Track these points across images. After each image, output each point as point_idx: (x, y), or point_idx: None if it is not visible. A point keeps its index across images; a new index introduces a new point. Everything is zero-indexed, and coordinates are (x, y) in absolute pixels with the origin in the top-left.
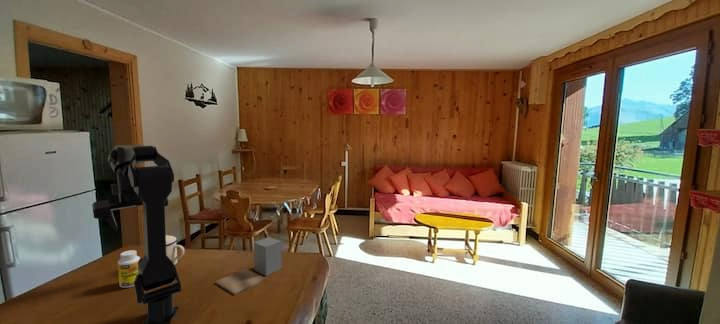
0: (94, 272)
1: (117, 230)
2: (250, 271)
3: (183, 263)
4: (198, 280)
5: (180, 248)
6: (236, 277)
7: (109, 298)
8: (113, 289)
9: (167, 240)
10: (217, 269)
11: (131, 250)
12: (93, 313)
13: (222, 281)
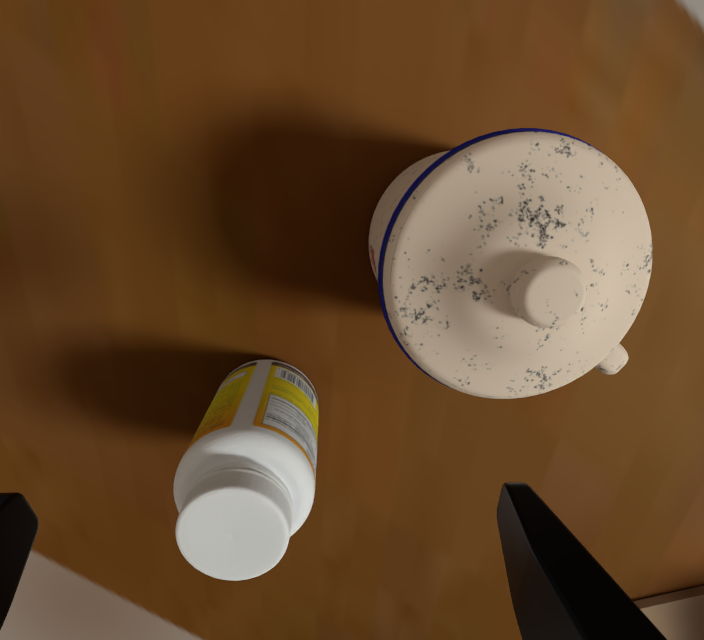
0: (49, 72)
1: (33, 537)
2: None
3: None
4: None
5: (602, 371)
6: (685, 632)
7: None
8: (193, 414)
9: (558, 363)
10: (666, 488)
11: (253, 498)
12: (141, 583)
13: None
